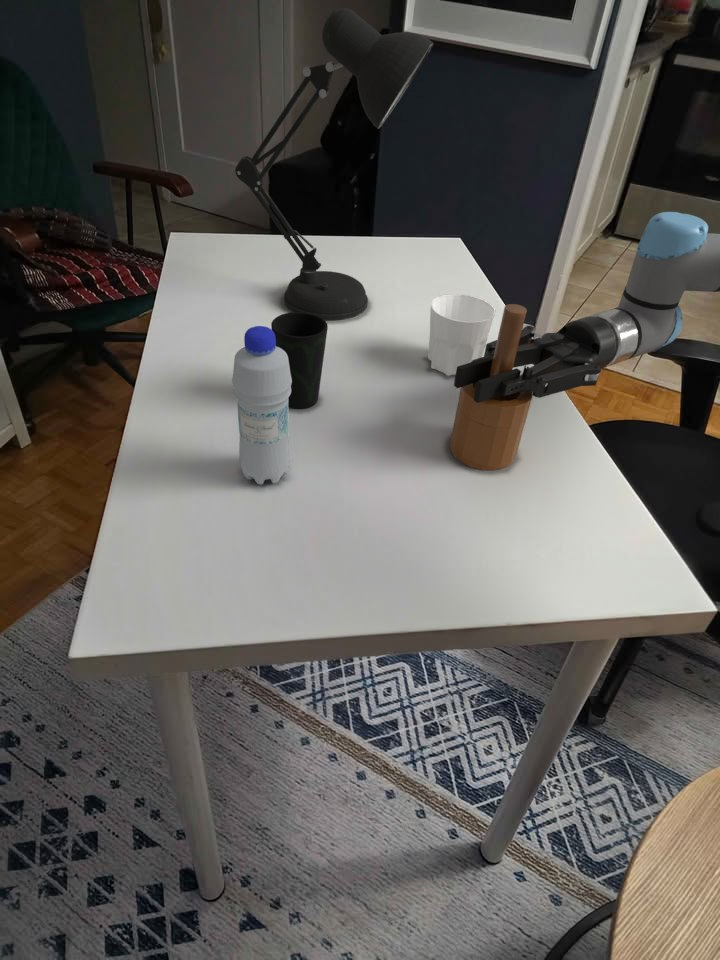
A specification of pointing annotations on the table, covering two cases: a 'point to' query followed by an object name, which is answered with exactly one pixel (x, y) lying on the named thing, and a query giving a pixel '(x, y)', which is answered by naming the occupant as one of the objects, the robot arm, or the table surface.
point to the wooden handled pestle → (507, 341)
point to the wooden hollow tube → (488, 429)
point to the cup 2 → (458, 330)
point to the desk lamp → (381, 84)
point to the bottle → (262, 406)
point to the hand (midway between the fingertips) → (467, 384)
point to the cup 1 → (302, 354)
